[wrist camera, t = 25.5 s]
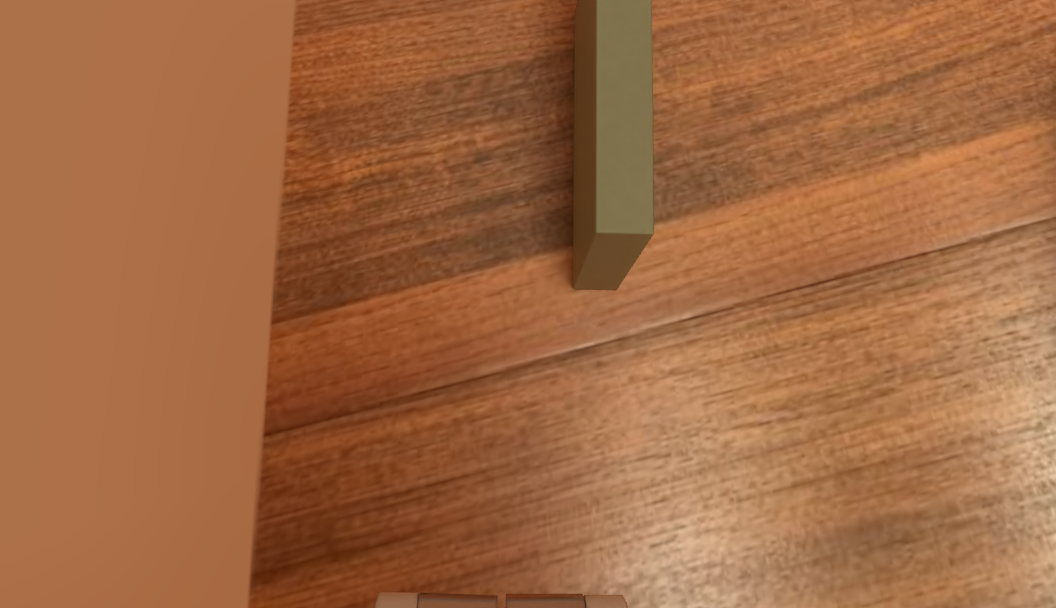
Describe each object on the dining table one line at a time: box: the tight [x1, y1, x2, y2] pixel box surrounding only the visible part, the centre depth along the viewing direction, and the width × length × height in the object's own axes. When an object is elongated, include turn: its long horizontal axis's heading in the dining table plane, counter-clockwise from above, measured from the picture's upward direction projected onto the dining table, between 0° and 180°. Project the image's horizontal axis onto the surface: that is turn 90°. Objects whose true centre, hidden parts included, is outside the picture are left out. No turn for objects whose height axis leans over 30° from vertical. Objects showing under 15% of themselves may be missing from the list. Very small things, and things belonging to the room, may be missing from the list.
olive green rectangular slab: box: [573, 0, 654, 290], centre depth 37 cm, size 2×13×10 cm, turn 179°
